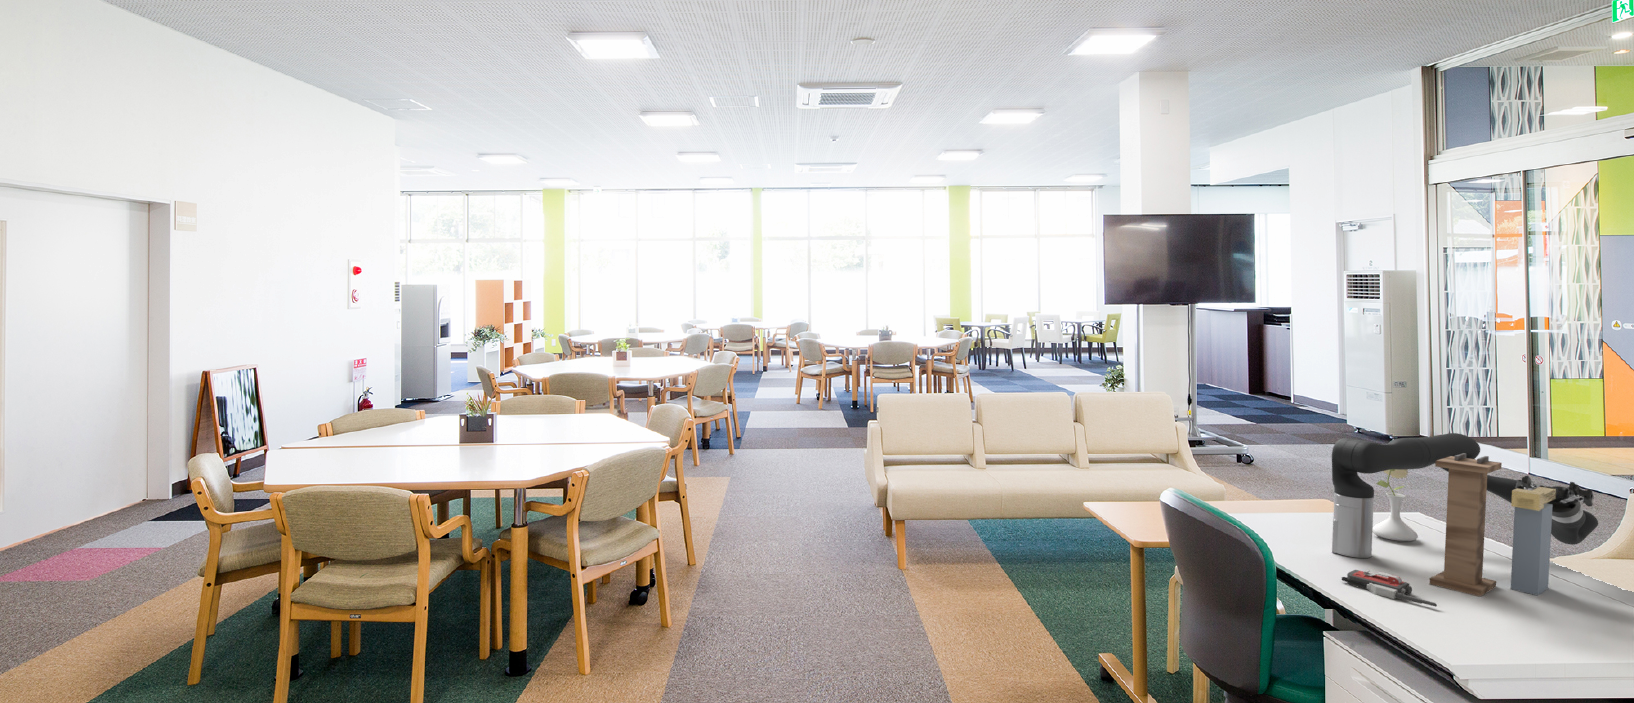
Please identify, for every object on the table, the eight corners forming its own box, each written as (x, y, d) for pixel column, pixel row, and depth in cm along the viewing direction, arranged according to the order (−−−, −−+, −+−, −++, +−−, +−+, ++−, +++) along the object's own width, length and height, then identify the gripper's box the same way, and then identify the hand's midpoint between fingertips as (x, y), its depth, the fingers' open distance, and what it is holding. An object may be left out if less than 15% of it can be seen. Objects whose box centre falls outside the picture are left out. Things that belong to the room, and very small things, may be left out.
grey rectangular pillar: (1537, 595, 179) (1542, 509, 178) (1510, 588, 183) (1514, 504, 182) (1548, 587, 184) (1552, 504, 183) (1521, 581, 188) (1525, 500, 187)
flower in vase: (1427, 544, 219) (1431, 462, 217) (1389, 544, 219) (1393, 462, 218) (1394, 531, 232) (1397, 454, 230) (1358, 531, 232) (1361, 454, 231)
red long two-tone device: (1336, 585, 186) (1434, 611, 170) (1337, 568, 186) (1435, 593, 169) (1352, 578, 191) (1448, 603, 174) (1352, 562, 191) (1449, 585, 174)
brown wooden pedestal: (1480, 596, 178) (1486, 462, 176) (1429, 583, 186) (1435, 456, 185) (1496, 586, 185) (1502, 457, 183) (1446, 574, 193) (1451, 451, 191)
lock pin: (1538, 510, 177) (1539, 494, 176) (1511, 506, 181) (1512, 490, 181) (1560, 499, 188) (1561, 484, 187) (1534, 495, 192) (1535, 480, 192)
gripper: (1528, 486, 204) (1514, 464, 196) (1601, 497, 192) (1590, 473, 184) (1522, 511, 202) (1508, 489, 194) (1596, 524, 190) (1584, 501, 182)
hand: (1548, 482), depth 189 cm, fingers open, 8 cm apart
